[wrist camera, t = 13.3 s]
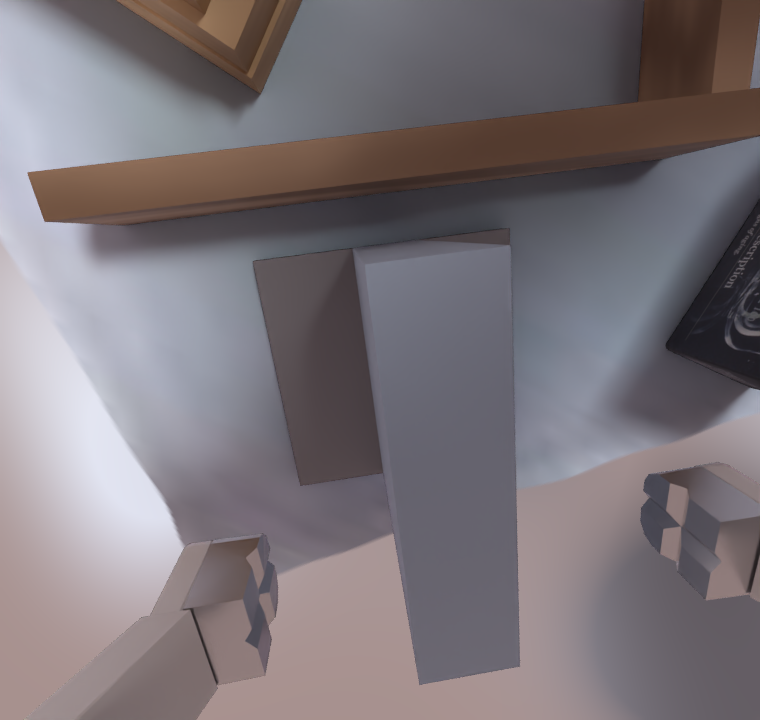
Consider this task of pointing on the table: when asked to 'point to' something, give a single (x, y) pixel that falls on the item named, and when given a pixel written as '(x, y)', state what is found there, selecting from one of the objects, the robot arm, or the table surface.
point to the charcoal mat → (327, 358)
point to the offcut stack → (226, 31)
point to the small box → (728, 313)
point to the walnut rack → (454, 137)
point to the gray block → (447, 443)
